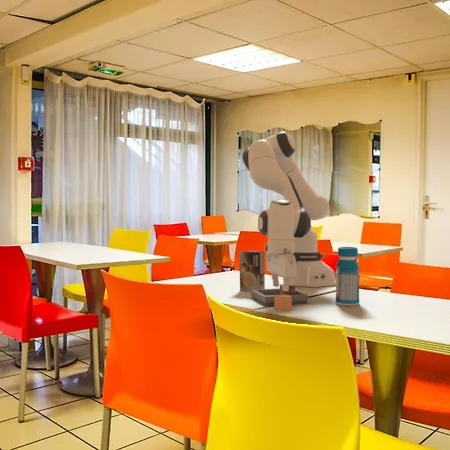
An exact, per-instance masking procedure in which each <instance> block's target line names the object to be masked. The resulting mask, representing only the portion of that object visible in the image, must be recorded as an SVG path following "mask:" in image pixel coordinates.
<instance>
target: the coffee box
mask: <svg viewBox="0 0 450 450" xmlns="http://www.w3.org/2000/svg"><path fill="white" fill-rule="evenodd" d="M238 255H239V291H240V292H248V293H249V292H250V293H252V290H257V289H266V288H265V287H266V286H265V285H266V284H265V283H266V281H265V279H266V278H265V277H266V276H265V273H266V271H265V250H264V251H261V250H242V251H239V254H238Z"/></svg>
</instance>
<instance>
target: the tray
mask: <svg viewBox="0 0 450 450" xmlns="http://www.w3.org/2000/svg"><path fill="white" fill-rule="evenodd" d="M274 295H280V287H279V288H278V287H277V288H265V289H257V290H252V292H251V299H253V300H254V301H257V302H258V303H260V304H262V305H263V306H274ZM289 296H291V297H292V305H299V304H308V300H309V296H308V294H307V293H305V292H302V291H300V290H298V289H296V295H289Z"/></svg>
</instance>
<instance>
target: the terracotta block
mask: <svg viewBox="0 0 450 450" xmlns="http://www.w3.org/2000/svg"><path fill="white" fill-rule="evenodd" d="M292 305H293V304H292V297H291V296H289V295H274V305H273V307H274V309H275V310H277V311H279V310H280V311H291V310H292V309H293V306H292Z"/></svg>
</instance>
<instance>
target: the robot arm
mask: <svg viewBox="0 0 450 450" xmlns="http://www.w3.org/2000/svg"><path fill="white" fill-rule="evenodd" d="M295 151H296V145H295V140H294V139H293V137H292V135H290V133H288V132H287V131H280V132H277V133H276V134H273V135H269V136H268V137H266V138H263V139H259V140H256V141H253V142H252V143H251V144H250V145H249V146H248V147H247V148H245V150H243V153H242V157H241V159H242V163H243V164H244V166H245V168H246V169H247V170H248V171H249V173H250V174H249V175H250V178H251V180H252V181H253V183H254V184H255V185H256V186H258V187H259V188H260V189H265V190H267V191H270V192H271V191H272V192H274V193H277V194H279V195H280V196H282V197H283V198H284V199H273V200H271V201H270V202H269V207H268V208H267V209H265V210H263V211H262V212H260V214H258V219H257V227H258V228H257V229H258V231H259V232H260V233H261V234H262V235H263V236H265V237H267V243H266V244H265V245H264V252H265V265H266V271H267V273H270V274H271V280H272V286H273V287H275V288H278V287H279V288H280V281H279V277H281V278H282V281H283V285H282V290H283V291H289V284H293V285H295V286H296V287H309V288H319V287H330V286H331V287H332V286H336V275H335V271H334V269H332V267H330V266H329V265H328V264H326V262H324V261H323V260H322V259H325V257H326V253H323V252H318V233H317V231H315V230H314V228H313V227H312V221H319V220H323V219H324V218H326V217H327V216H328V214H329V213H330V204H329V203H330V202H329V201H328V199H327V198H326V197H325V196H323V195H320V193H318V192H317V191H316V190H315V189H314V188H313V187H312V186H311V185H310V183H309V182H308V181H307V180H306V179H305V177H304V176H303V174H302V172H301V171H300V169H299V166H298V165H297V163H296V161H295V159H294V158H293V157H292V156H293V154H295Z"/></svg>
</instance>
